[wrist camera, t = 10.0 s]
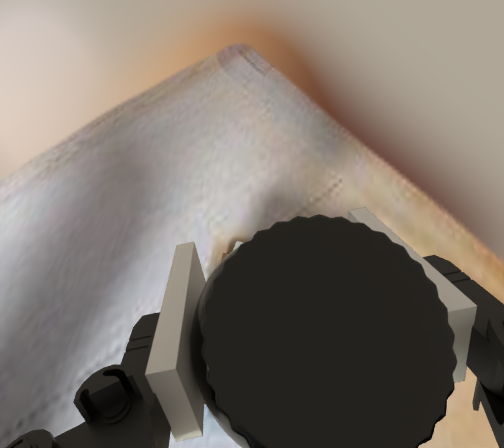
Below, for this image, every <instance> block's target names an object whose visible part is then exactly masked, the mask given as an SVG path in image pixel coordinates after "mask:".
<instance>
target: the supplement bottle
mask: <svg viewBox="0 0 504 448" xmlns="http://www.w3.org/2000/svg"><path fill="white" fill-rule="evenodd" d="M454 338H455V334H454V332H453V330H452V328H451V327H450V325H449V323H448V309H447V307H446V306H445V305H444V303H443V302H442V301H441V300H440V298H439V295H438V290H437V286H436V284H435V283H434V282H433V281H432V280H430V279H429V278H428V277H427V276H426V274H425V271H424V269H423V266H422V264H420V263H419V262H418V261H416V260H414V259H412V258H411V257H410V255H409V254H408V252H407V250H406V249H405V248H404V246H401V245H399V244H397V243H394V242H392V241H391V239H390V238H389V237H388V236H387V235H386V234H385V233H383V232H380V231H374V230H372V229H371V228H370V227H368V226H367V225H366V224H364V223H360V222H356V223H355V222H350V221H349V220H347V219H345V218H343V217H335V218H329V217H326V216H323V215H320V214H319V215H316V216H313V217H310V218H307V217H300V216H297V217H295V218H293V219H292V220H291V221H289V222H276V223H275V224H274V225H273V226H272V227H271V228H270V229H266V230H261V231H258V232H257V233H256V234H255V235H254V237H253V238H252V239H250V240H248V241H246V242H245V243H243V244H240V246H239V247H237V248H236V249H235V250H233V251H232V252H231V253H230V254H229V255H228V256H227V257H226V258H225V259H224V260H223V261H222V262H221V263H220V264H219V265H218V266H217V268H216V269H215V270H214V271H213V273H212V274H211V276H210V277H209V279H208V281H207V283H206V284H205V286H204V288H203V290H202V293H201V295H200V297H199V300H198V303H197V306H196V309H195V313H194V318H193V323H192V331H191V355H192V363H193V369H194V373H195V377H196V381H197V384H198V387H199V390H200V392H201V394H202V397H203V399H204V401H205V403H206V405H207V407H208V409H209V410H210V412H211V414H212V415H213V417H214V418H215V420H216V421H217V423H218V424H219V425H220V426H221V428H222V429H223V430H224V431H225V432H226V433H227V435H228V436H229V437H231V438H232V439H233V440H234V441H235V442H236V443H237V444H238V445H239V446H241V447H242V448H418V446H419V445H421V444H423V443H426V442H427V441H429V440H431V438H432V435H433V432H434V428H435V424H436V423H437V422H438V421H440V420H442V419H443V418H444V417H445V416H446V408H447V399H448V397H449V396H450V395H451V394H452V393H453V391H454V379H453V372H454V370H455V368H456V365H457V358H456V355H455V353H454V350H453V344H454Z"/></svg>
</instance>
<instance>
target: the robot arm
mask: <svg viewBox="0 0 504 448" xmlns="http://www.w3.org/2000/svg"><path fill="white" fill-rule="evenodd" d="M348 216H349V221H350V222H355V223H356V222H360V223H364V224H366V225H367V226H368V227H370V228H371V229H372V230H374V231H380V232H383V233H385V234H386V235H387V236H388V237H389V238H390V239H391V241H392V242H394V243H397V244H399V245H401V246H404V248H405V249H406V250H407V252H408V254H409V255H410V257H411V258H412V259H414V260H416V261H418V262H419V263H420V264H422V266H423V269H424V271H425V274H426V276H427V277H428V278H429V279H430V280H432V281H433V282H434V283H435V284H436V286H437V290H438V295H439V298H440V300H441V301H442V302H443V303H444V305H445V306H446V307H447V309H448V323H449V325H450V327H451V328H452V330H453V332H454V334H455V338H454V344H453V350H454V353H455V355H456V358H457V365H456V368H455V370H454V372H453V379H454V383H456V382H461V381H465V375H466V369H467V366H468V367H469V369H470V370H471V371H472V372H473V373H474V374H475V376H476V377H477V382H476V387H475V393H474V398H473V410H476V411H478V410H479V405H480V401H481V403H482V406H483V408H484V411H485V413H486V416H487V418H488V421H489V423H490V426H491V428H492V431H493V433H494V436H495V438H496V441H497V443H498V446H499V448H504V304H503V303H501V302H500V301H499V300H498V299H496V298H495V297H494V296H493V295H491V294H490V293H489V292H488V291H486V290H485V289H484V288H483V287H481V286H480V285H479V284H477V283H476V282H475V281H474V280H471V279H470V277H469V276H467V275H466V274H465V273H464V272H461V270H460V269H459V268H457V267H456V266H455V265H454V264H452V263H451V262H450V261H448V260H445V259H443V258H440V257H438V256H436V255H432V256H427V257H421V256H420V255H419V254H418V253H417V252H416V251H414V250H413V249H412V248H411V247H410V246H409V245H408V244H407V243H405V242H404V241H403V240H402V239H401V238H400V237H399V236H397V235H396V234H395V233H394V232H393V231H392V230H391V229H390V228H388V227H387V226H386V225H385V224H384V223H383V222H382V221H380V220H379V219H378V218H377V217H376V216H375V215H374V214H373V213H371V212H370V211H369V210H368V209H367V208H366V207H363V208H359V209H354V210H349V211H348ZM205 284H206V281H205V278H204V274H203V271H202V267H201V264H200V260H199V257H198V254H197V250H196V247H195V243H194V242H191V243H186V244H181V245H177V246H176V250H175V254H174V258H173V263H172V267H171V271H170V275H169V279H168V283H167V287H166V291H165V295H164V299H163V303H162V307H161V311H160V312H159V313H154V314H149V315H144V316H142V317H141V318H140V320H139V321H138V322H137V323H136V325H135V326H134V327H133V330H132V333H131V335H130V338H129V342H128V344H127V347H126V353H124V356H123V359H122V362H121V365H111V366H108V367H104V368H102V369H100V370H99V371H97V372H95V373H94V374H92V375H91V376H90V377H89V378H88V379H87V380H86V381H84V382H83V384H82V385H81V387H80V388H79V389H78V391H77V392H76V395H75V399H74V404H75V405H76V407H77V409H78V410H79V412H80V413H81V415H82V416H83V418H84V419H85V422H84V423H82V424H80V425H79V426H77V427H75V428H73V429H71V430H69V431H67V432H65V433H63V434H61V435H59V436H57V437H55V438H54V437H53V436H52V435H51V433H50V432H48V431H46V430H43V429H41V430H33V431H31V432H29V433H26V434H24V435H22V436H20V437H19V438H17V439H16V440H15V441H13V442H12V443H11V444H9V445H8V446H7V447H6V448H168V447H169V439H170V432H172V434H173V436H174V438H175V440H176V441H181V440H186V439H190V438H195V437H200V436H203V416H204V399H203V397H202V394H201V392H200V390H199V387H198V384H197V381H196V377H195V373H194V369H193V363H192V355H191V331H192V323H193V318H194V313H195V309H196V306H197V303H198V300H199V297H200V295H201V293H202V290H203V288H204V286H205Z"/></svg>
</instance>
